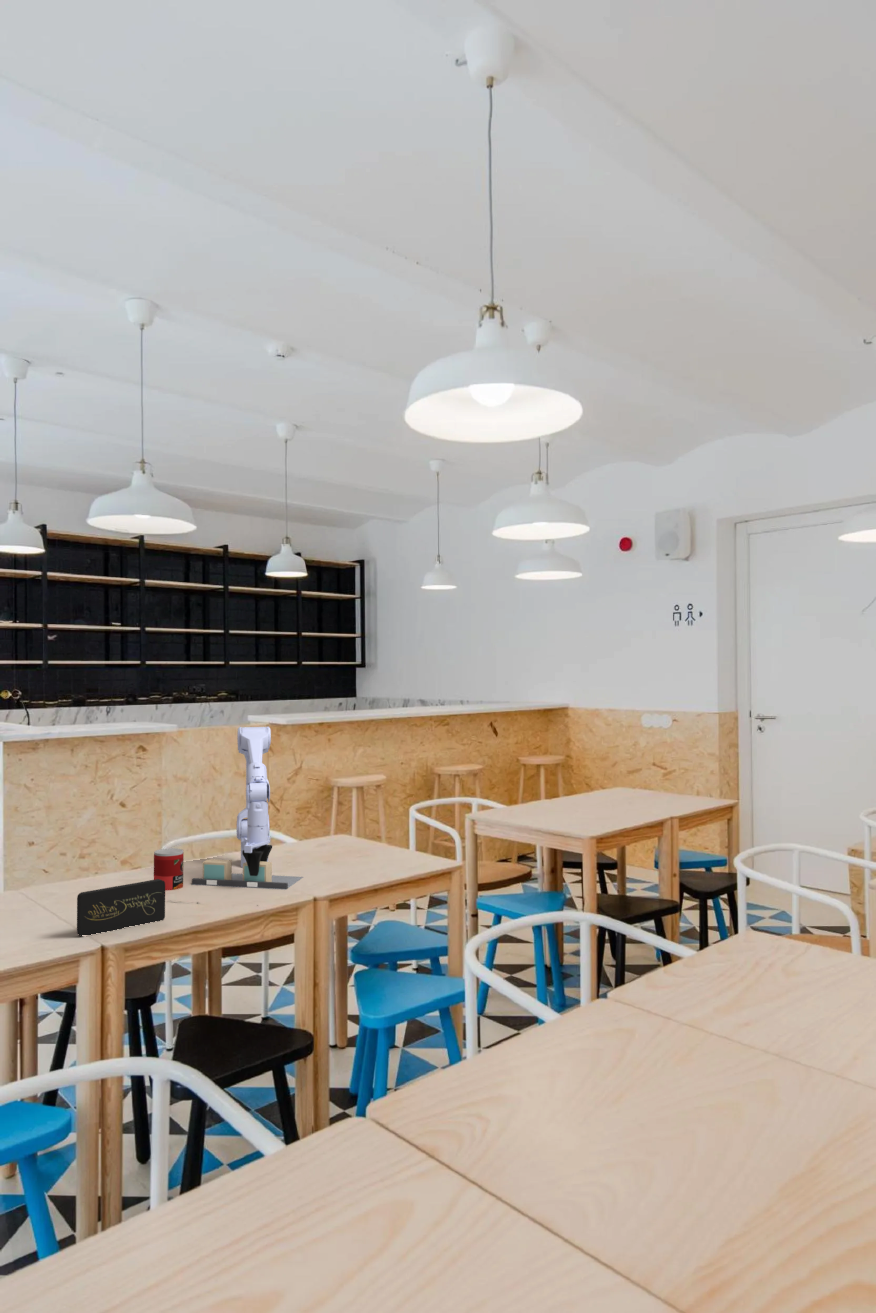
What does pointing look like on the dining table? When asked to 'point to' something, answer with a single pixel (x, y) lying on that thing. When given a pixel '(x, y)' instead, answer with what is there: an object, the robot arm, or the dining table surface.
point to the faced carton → (217, 869)
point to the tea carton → (263, 874)
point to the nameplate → (120, 907)
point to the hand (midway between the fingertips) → (257, 873)
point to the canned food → (169, 867)
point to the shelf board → (249, 882)
